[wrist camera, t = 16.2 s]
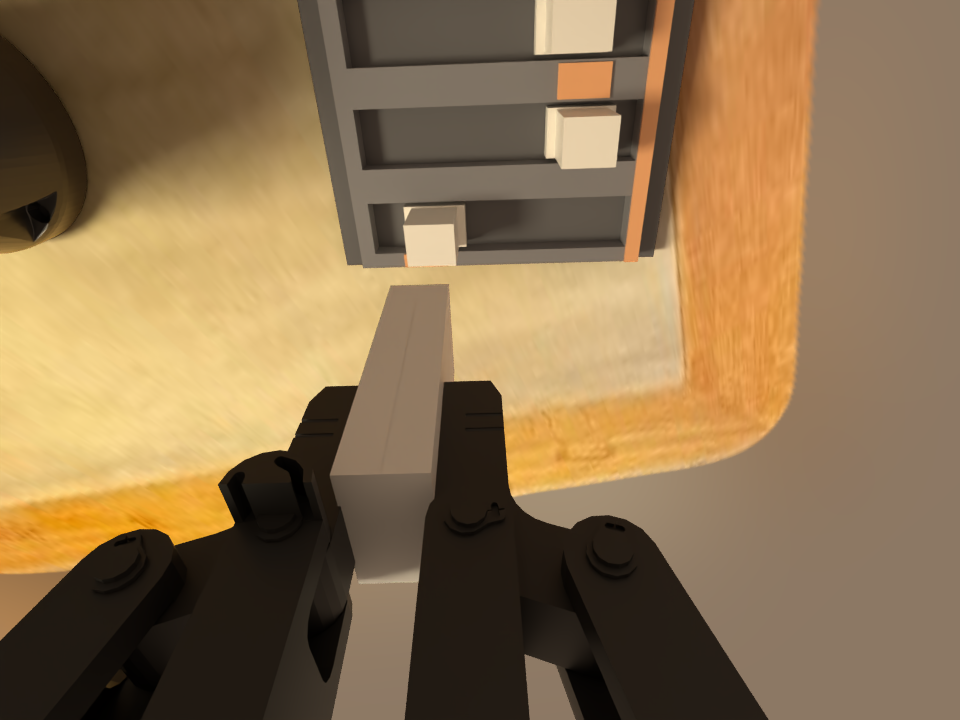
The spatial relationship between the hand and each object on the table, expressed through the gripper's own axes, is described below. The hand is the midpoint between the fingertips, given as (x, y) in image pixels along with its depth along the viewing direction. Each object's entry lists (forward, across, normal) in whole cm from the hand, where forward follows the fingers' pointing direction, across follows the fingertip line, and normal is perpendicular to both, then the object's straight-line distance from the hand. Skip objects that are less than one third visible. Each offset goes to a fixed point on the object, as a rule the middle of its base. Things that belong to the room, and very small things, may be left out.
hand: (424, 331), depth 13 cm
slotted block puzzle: (+23, +3, +1) cm, 24 cm away
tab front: (+22, +7, +7) cm, 24 cm away
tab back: (+22, -1, -4) cm, 23 cm away
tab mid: (+22, +8, +1) cm, 23 cm away
